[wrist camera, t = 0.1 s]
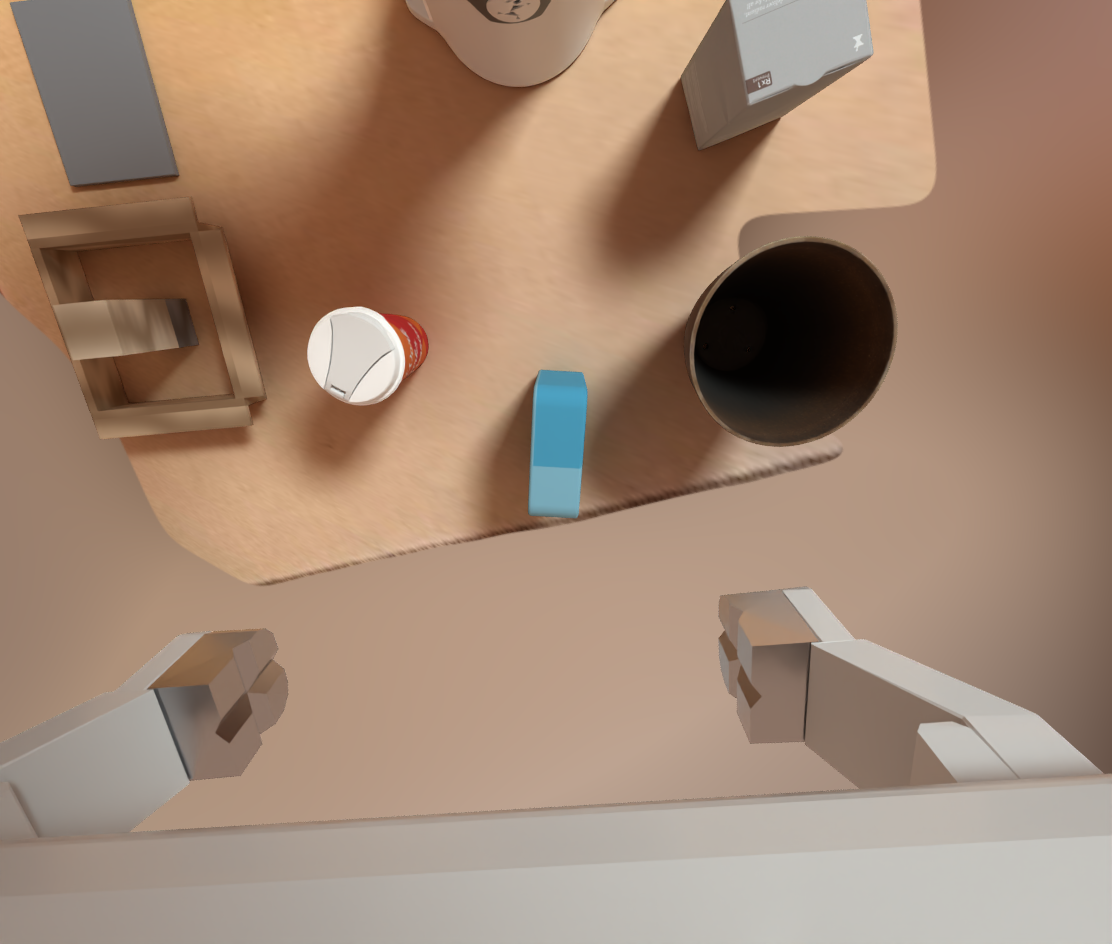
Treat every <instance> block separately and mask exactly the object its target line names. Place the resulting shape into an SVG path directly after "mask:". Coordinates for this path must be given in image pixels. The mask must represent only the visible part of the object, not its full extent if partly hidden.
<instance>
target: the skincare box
mask: <svg viewBox="0 0 1112 944" xmlns="http://www.w3.org/2000/svg"><path fill="white" fill-rule="evenodd" d="M872 55H873V45H872V38H871V31H870V24H869V17H868V9H867V2H866V0H726V1H725V3H724V4H723V6H722V8H721V10H720V11H719V13H718V15H717V17H716V18H715V20H714V21H713V23H712V25H711V26H710V28H709V30H708V32H707V33H706V35H705V37H704V38H703V40H702V41H701V43H700V45H699V47H698V48H697V50H696V52H695V53H694V55H693V57H692V58H691V60H690V62H689V63H688V65H687V67H686V68H685V70H684V72H683V73H682V75H681V81H682V85H683V89H684V93H685V97H686V101H687V105H688V109H689V114H690V118H691V123H692V127H693V131H694V136H695V140H696V144H697V148H698V150H702V149H705V148H707V147H710V146H712V145H715V144H718V143H720V142H723V141H725V140H728V139H730V138H733V137H735V136H737V135H740V134H742V133H744V132H747V131H749V130H752V129H754V128H756V127H759V126H761V125H763V124H766V123H768V122H771V121H773V120H775V119H778V118H780V117H782V116H784V115H785V114H787V113H788V112H790V111H791V110H793V109H794V108H796V107H797V106H799V105H800V104H802V103H803V102H805V101H806V100H808V99H809V98H811V97H812V96H814V95H815V94H817V93H818V92H820V91H821V90H823V89H824V88H826V87H827V86H829V85H830V84H832V83H833V82H835V81H836V80H838V79H839V78H841V77H842V76H844V75H845V74H847V73H848V72H850V71H851V70H852V69H854V68H855V67H857V66H858V65H860V64H861V63H863V62H864V61H866V60H867V59H868V58H870V57H871V56H872Z"/></svg>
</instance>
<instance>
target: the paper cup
mask: <svg viewBox="0 0 1112 944" xmlns="http://www.w3.org/2000/svg"><path fill="white" fill-rule="evenodd" d="M427 353H428V339H427V335H426V333H425V331H424V330H423V328H422V327H421V326H420V325H419V324H418V323H417V322H416V321H414V320H413V319H411V318H409V317H406V316H401V315H393V314H382V313H377V312H375V311H373V310H371V309H368V308H365V307H361V306H360V307H348V308H341V309H337V310H334V311H332V312H330V313H328V314H327V315H325V316H324V317H323V318H322V319H321V320H320V321H319V322H318V323H317V324H316V326H315V327H314V329H313V331H312V333H311V336H310V339H309V343H308V349H307V358H308V363H309V367H310V370H311V373H312V374H313V376H314V378H315V380H316V381H317V383H318V384H319V385H320V386H321V387H322V388H323V389H325V390H326V391H327V392H328V393H329V394H330V395H332V396H333V397H335V398H336V399H338V400H340V401H343V402H345V403H348V404H352V405H360V406H362V405H371V404H376V403H378V402H381V401H383V400H384V399H386V398H388V397H389V396H390V395H391V394H392V393H393V392H394V391H395V390H396V389H397V387H398V386H399V384H400V382H401V381H403V380H404V379H405V378H406V377H407V376H409V375H410V374H411V373H412V372H414V371H415V370H416V369H417V368H418V367H419V366H420V365H421V364H422V363H423V362H424V360H425V358H426V356H427Z"/></svg>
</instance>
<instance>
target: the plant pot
mask: <svg viewBox="0 0 1112 944" xmlns="http://www.w3.org/2000/svg"><path fill="white" fill-rule="evenodd" d="M732 306H734V307H736V309H735V310H734V311H733V310H730V307H732ZM897 324H898V323H897V313H896V307H895V303H894V299H893V296H892V293H891V291H890V288H889V286H888V284H887V282H886V280H885V279H884V277H883V275H882V274H881V272H880V271H879V270H878V269H877V267H876V266H875V265H874V264H873V263H872V262H871V261H870V260H869V259H868V258H867V257H865V256H864V255H863V254H862V253H860V252H859V251H857V250H856V249H854V248H852V247H850V246H848V245H846V244H844V243H841V242H839V241H836V240H832V239H828V238H823V237H812V236H800V237H792V238H786V239H782V240H778V241H775V242H772V243H769V244H766V245H764V246H761V247H760V248H758V249H756V250H754V251H752V252H750V253H749V254H747V255H746V256H744V257H743V258H741V259H740V260H738V261H737V262H735V263H734V264H732V265H731V266H730V267H729V268H727V269H726V270H725V271H724V272H722V273H721V274H720V275H719V276H718V277H717V278H716V279H715V280H714V281H713V282H712V283H711V284H710V285H709V286H708V287H707V289H706V290H705V291H704V292H703V294H702V295H701V296H700V298H699V299H698V301H697V302H696V304H695V306H694V308H693V310H692V312H691V314H690V317H689V319H688V322H687V326H686V330H685V336H684V356H685V362H686V367H687V371H688V374H689V377H690V380H691V382H692V385H693V387H694V389H695V391H696V393H697V395H698V397H699V399H700V400H701V402H702V404H703V406H704V407H705V409H706V410H707V412H708V413H709V414H710V415H711V417H712V418H713V419H714V420H715V421H716V422H717V423H718V424H719V425H720V426H722V427H723V428H724V429H725V430H727V431H728V432H730V433H732V434H733V435H735V436H737V437H739V438H741V439H743V440H746V441H748V442H752V443H755V444H760V445H765V446H774V447H783V446H794V445H800V444H804V443H808V442H812V441H815V440H818V439H820V438H823V437H825V436H827V435H829V434H831V433H833V432H835V431H836V430H838V429H840V428H841V427H843V426H844V425H845V424H847V423H848V422H849V421H851V420H852V419H853V418H854V417H856V416H857V415H858V414H859V413H860V412H861V411H862V410H863V409H864V408H865V407H866V406H867V404H868V403H869V402H870V401H871V400H872V398H873V397H874V396H875V394H876V393H877V391H878V390H879V388H880V387H881V385H882V383H883V381H884V379H885V377H886V375H887V373H888V370H889V368H890V365H891V362H892V359H893V356H894V352H895V348H896V342H897ZM706 343H707V344H708V348H707V349H704V348H703V345H704V344H706ZM748 346H749V347H750V351H749V352H747V351H746V350H747V349H748Z"/></svg>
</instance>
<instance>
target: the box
mask: <svg viewBox="0 0 1112 944" xmlns="http://www.w3.org/2000/svg"><path fill="white" fill-rule="evenodd" d="M53 307H54V310H55V313H56V316H57V318H58V321H59V324H60V327H61V329H62V332H63V335H64V338H65V340H66V343H67V346H68V349H69V351H70V354H71V357H72V360H81V359H92V358H102V357H112V356H123V355H130V354H137V353H144V352H151V351H159V350H166V349H173V348H180V347H187V346H194V345H199V343H198V340H197V336H196V333H195V329H194V326H193V322H192V319H191V316H190V312H189V309H188V305H187V302H186V299H135V300H99V301H90V302H80V303H70V304H60V305H53Z"/></svg>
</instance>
